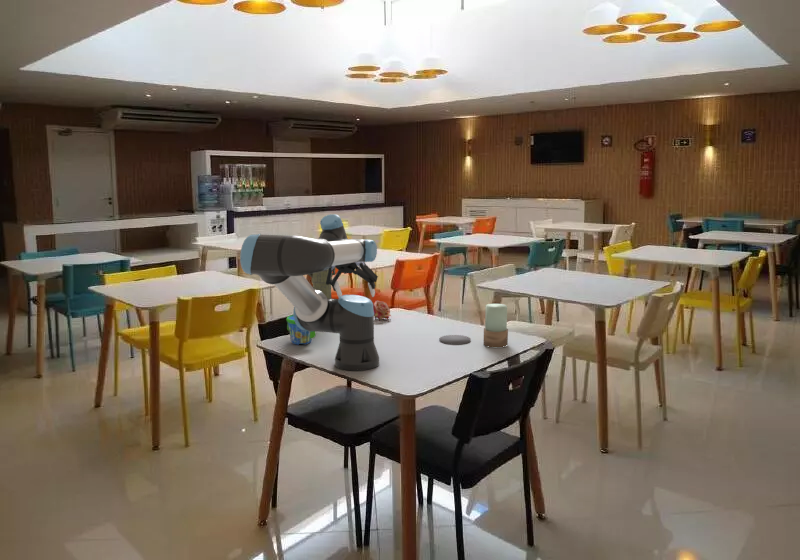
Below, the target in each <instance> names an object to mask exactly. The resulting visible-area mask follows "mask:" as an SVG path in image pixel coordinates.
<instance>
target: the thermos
mask: <svg viewBox="0 0 800 560" xmlns="http://www.w3.org/2000/svg"><path fill="white" fill-rule="evenodd" d="M328 271H329V270H328V269H327V270H325V271H321V272H316V273H312V274H307V276H309V277H310V278H311V283H312V287H313V288H314V289H315V290H318V291H321V292H322V293H324V294H325V296H326V297H327V298H329V299H332V285H330V284H329V285H327V284H326V280H327V276H328ZM335 275H336V267H334V269H333V271H332V275H331V280H332V279H333V277H334V276H335Z"/></svg>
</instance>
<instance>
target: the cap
mask: <svg viewBox="0 0 800 560" xmlns="http://www.w3.org/2000/svg"><path fill="white" fill-rule="evenodd" d="M484 318H485V319H484V321H485V324H484V328H485V330H487V331H491V332H503V331H506V330H507V329H508V328H507V325H508V305H506V304H504V303H488V304H485V317H484Z"/></svg>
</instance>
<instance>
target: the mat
mask: <svg viewBox="0 0 800 560" xmlns="http://www.w3.org/2000/svg"><path fill="white" fill-rule="evenodd" d="M439 342H440V343H442V344H447V345H453V346H454V345H458V346H459V345H465V344H469V343H470V342H471V338H470V337H469V336H466V335H461V334H460V335H459V334H447V335H442V336H439Z"/></svg>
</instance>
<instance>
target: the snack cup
mask: <svg viewBox="0 0 800 560" xmlns="http://www.w3.org/2000/svg"><path fill="white" fill-rule="evenodd" d="M285 320H286V323H287V324H286V329H287V331H288V332H289V336H290V342H291V344H293V345H296V346H300V345H299V344H305V345H308V344H310V343H311V342H312V340H313V339H314V338H315V337H316V334H317V333H316V331H313V332H309V331H305V330H302V329H300V328H299V327H298V326H297V325H296V323H295V318H294V315H293V314H290V315H288V316H287V317H286V319H285Z"/></svg>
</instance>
